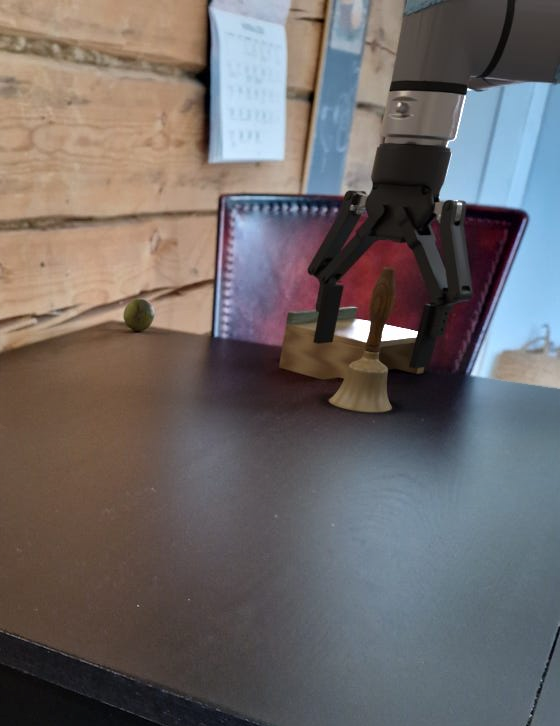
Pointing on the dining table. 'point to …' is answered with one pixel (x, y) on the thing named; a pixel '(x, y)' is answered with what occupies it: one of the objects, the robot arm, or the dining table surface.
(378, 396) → the hand bell
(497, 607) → the dining table surface
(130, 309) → the lime
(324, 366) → the shelf
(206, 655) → the dining table surface
